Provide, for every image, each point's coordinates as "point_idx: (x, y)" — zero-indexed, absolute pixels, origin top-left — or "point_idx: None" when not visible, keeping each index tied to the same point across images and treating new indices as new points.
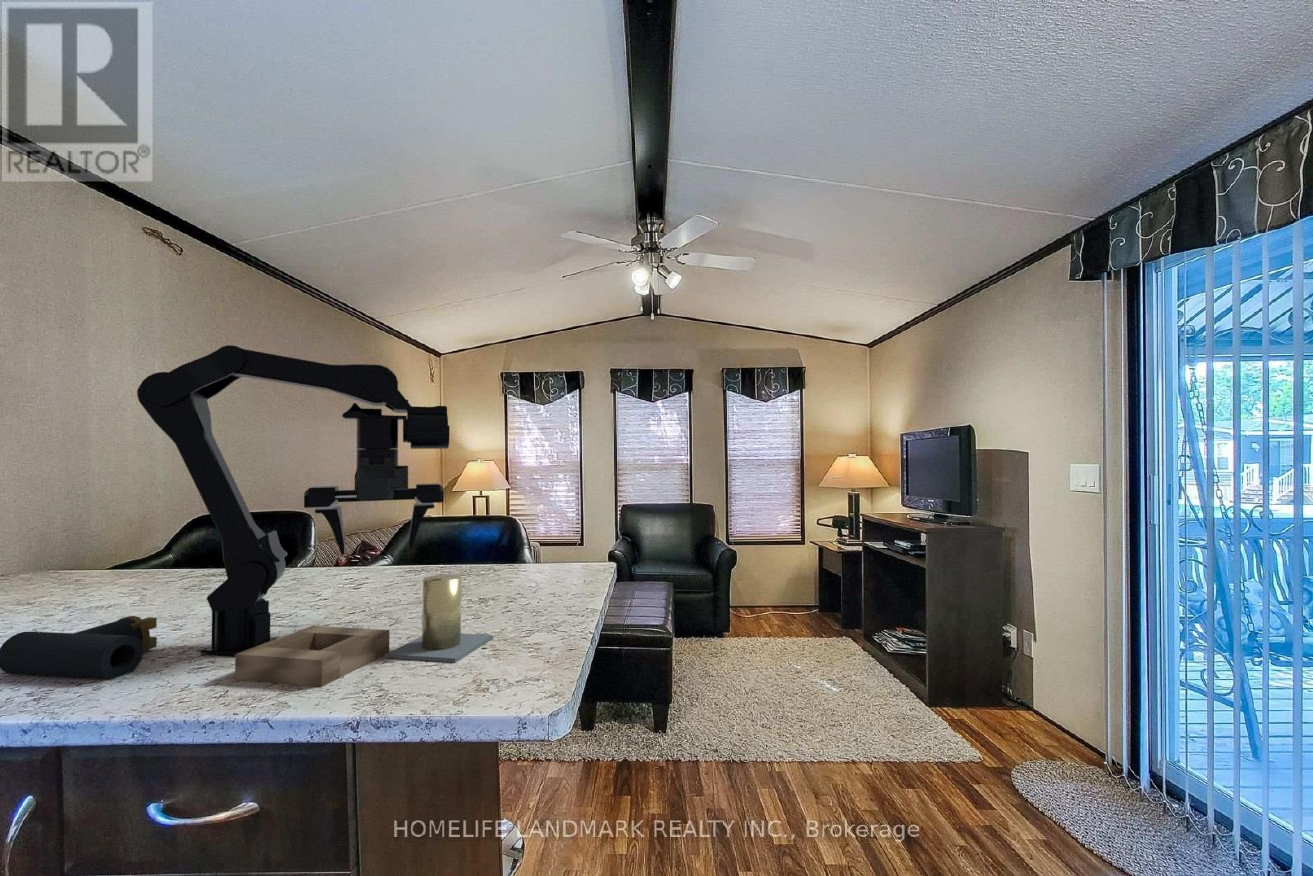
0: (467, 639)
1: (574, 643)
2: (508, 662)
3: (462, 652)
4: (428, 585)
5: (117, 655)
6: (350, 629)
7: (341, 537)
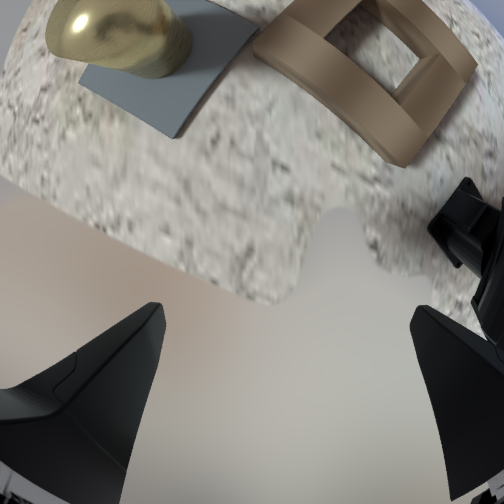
0: None
1: (15, 51)
2: None
3: None
4: None
5: None
6: (336, 88)
7: (465, 339)
